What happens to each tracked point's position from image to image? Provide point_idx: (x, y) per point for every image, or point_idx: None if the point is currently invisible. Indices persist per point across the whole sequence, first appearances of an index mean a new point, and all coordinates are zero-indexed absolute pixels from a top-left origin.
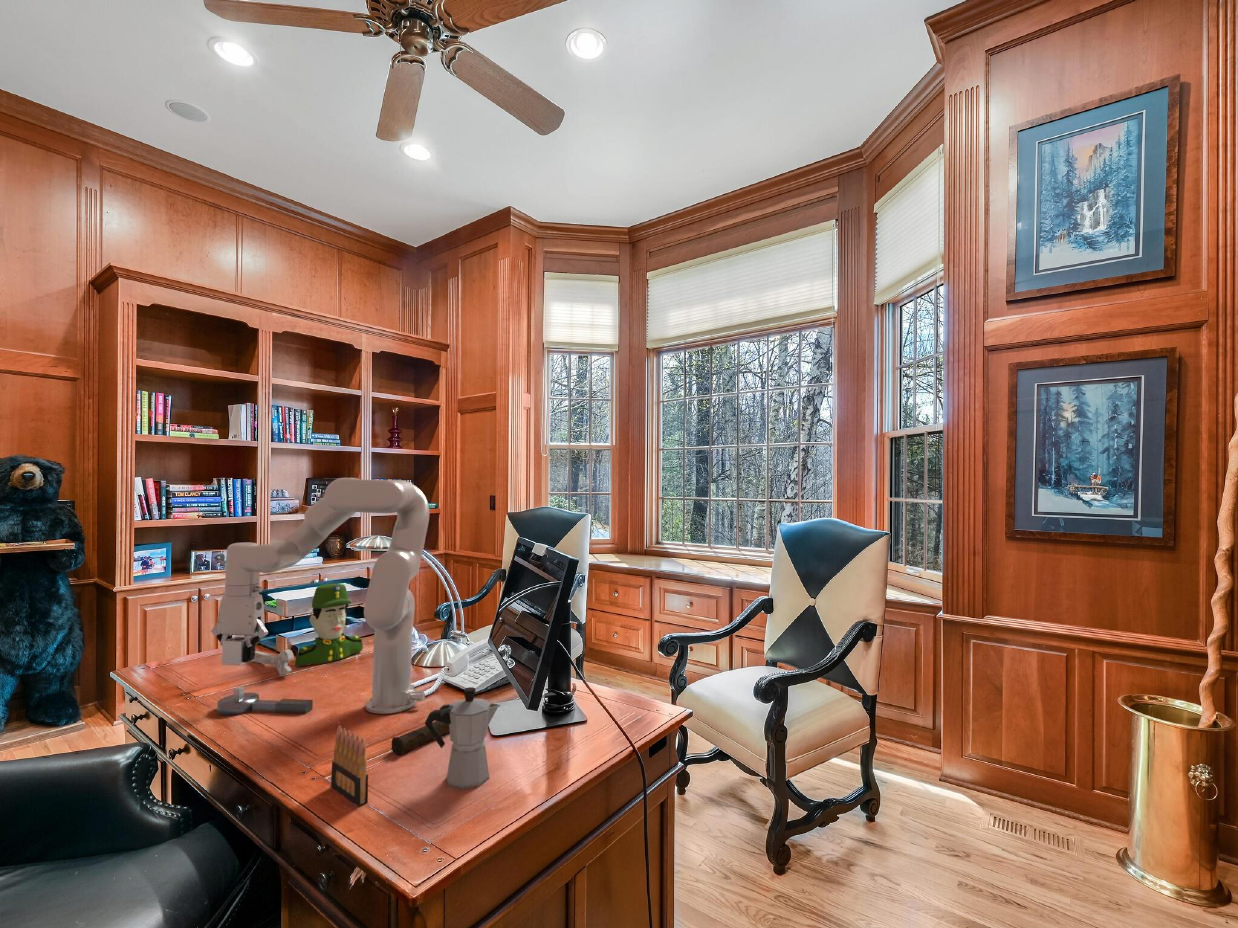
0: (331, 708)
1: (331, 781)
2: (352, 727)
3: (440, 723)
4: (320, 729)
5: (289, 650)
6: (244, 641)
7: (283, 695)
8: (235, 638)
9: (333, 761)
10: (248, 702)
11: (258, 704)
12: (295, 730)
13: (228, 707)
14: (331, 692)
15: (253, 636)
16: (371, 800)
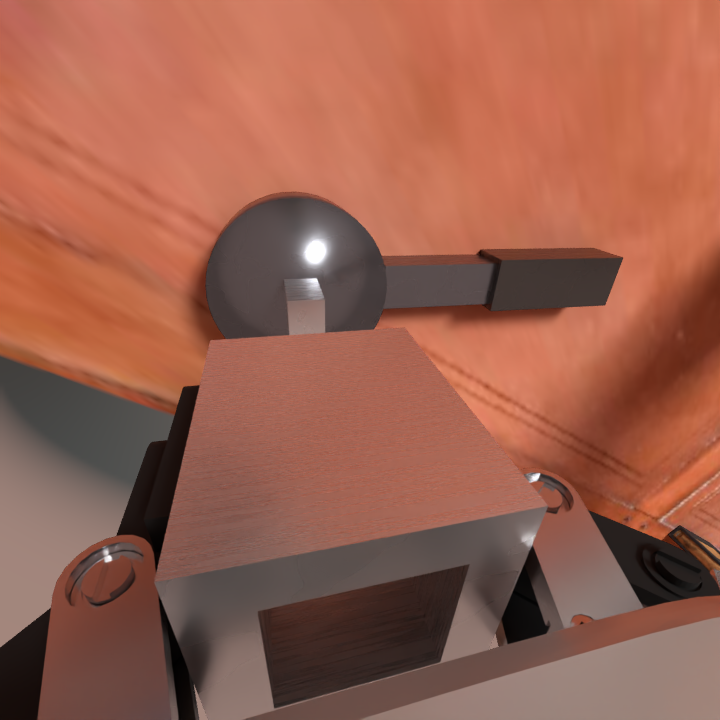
0: (656, 233)
1: (677, 543)
2: (711, 358)
3: None
4: (636, 382)
5: None
6: (483, 635)
7: (411, 72)
8: (260, 630)
9: (709, 571)
10: (376, 323)
11: (411, 306)
12: (576, 399)
13: None
14: (647, 6)
15: (578, 596)
16: (715, 540)
